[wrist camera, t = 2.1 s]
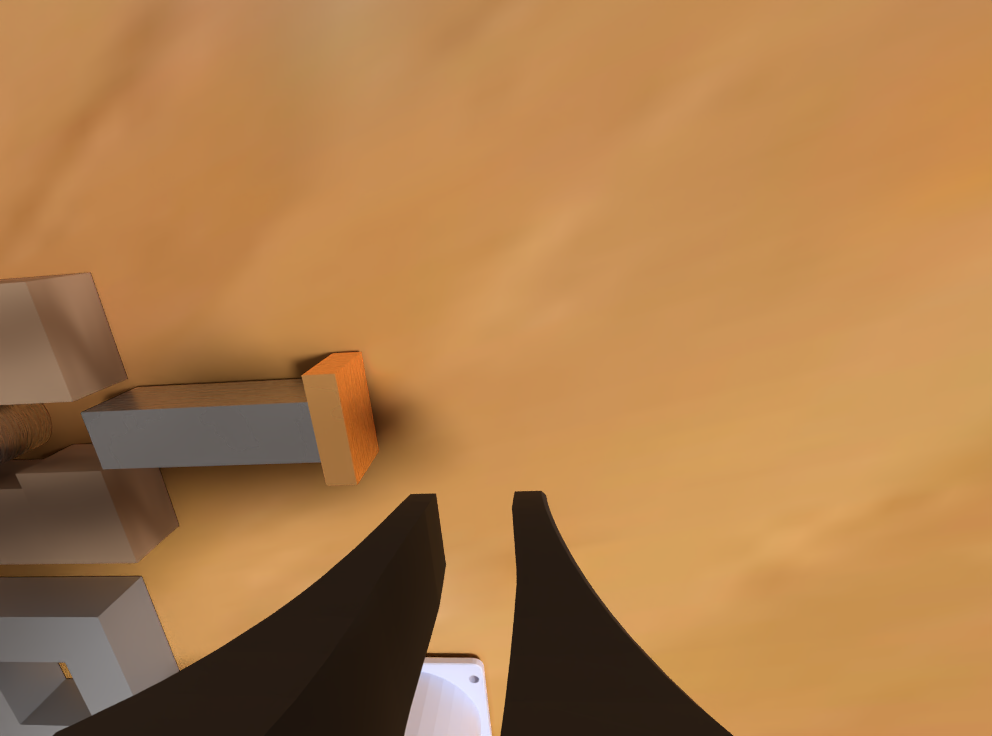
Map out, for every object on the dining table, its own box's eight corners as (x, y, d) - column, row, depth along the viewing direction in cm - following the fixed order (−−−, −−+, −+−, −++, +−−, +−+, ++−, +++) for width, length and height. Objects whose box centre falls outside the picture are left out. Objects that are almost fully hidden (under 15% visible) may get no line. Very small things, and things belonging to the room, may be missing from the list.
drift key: (379, 450, 20) (356, 485, 17) (161, 458, 21) (111, 491, 18) (361, 351, 18) (334, 373, 16) (129, 364, 19) (70, 387, 17)
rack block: (197, 716, 27) (164, 765, 24) (40, 712, 28) (-6, 759, 25) (141, 576, 24) (97, 617, 21) (-34, 577, 24) (-94, 616, 22)
